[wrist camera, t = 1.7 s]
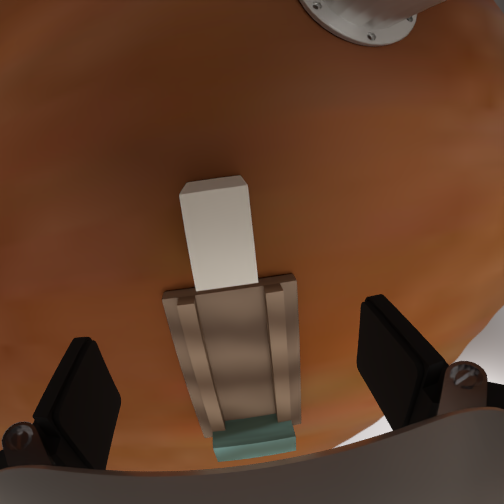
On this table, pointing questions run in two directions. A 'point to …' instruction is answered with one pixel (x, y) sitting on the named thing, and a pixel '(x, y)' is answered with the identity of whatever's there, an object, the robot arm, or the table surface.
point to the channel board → (241, 363)
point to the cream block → (219, 232)
